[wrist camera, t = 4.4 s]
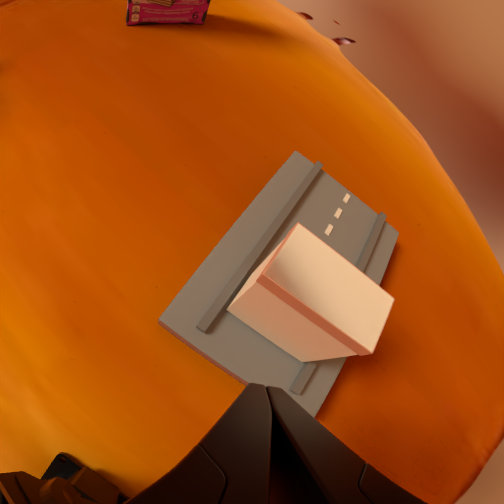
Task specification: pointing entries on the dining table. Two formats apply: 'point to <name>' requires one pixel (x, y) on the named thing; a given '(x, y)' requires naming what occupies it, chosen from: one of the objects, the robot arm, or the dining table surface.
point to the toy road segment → (248, 260)
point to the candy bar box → (166, 11)
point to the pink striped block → (313, 301)
